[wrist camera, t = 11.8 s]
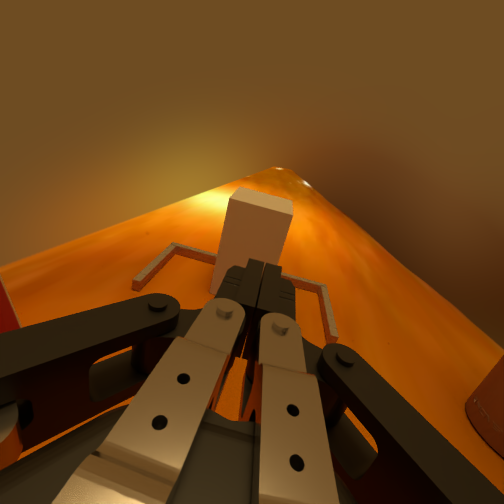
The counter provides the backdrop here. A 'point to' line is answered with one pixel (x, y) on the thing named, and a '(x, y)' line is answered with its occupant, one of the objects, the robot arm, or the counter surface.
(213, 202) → the counter surface
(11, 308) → the milk carton
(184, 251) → the metal staple
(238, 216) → the carton
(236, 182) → the counter surface
